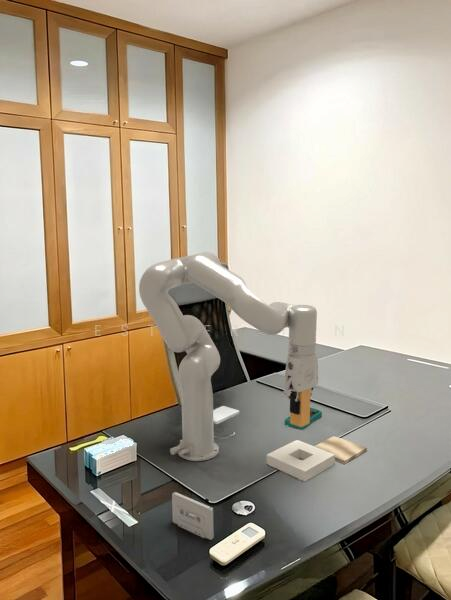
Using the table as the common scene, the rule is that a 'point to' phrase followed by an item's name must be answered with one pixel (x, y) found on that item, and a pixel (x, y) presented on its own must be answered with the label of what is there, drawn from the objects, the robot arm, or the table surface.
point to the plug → (302, 410)
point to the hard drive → (223, 414)
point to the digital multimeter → (314, 416)
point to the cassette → (194, 523)
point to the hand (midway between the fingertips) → (299, 410)
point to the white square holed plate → (292, 465)
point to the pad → (341, 449)
